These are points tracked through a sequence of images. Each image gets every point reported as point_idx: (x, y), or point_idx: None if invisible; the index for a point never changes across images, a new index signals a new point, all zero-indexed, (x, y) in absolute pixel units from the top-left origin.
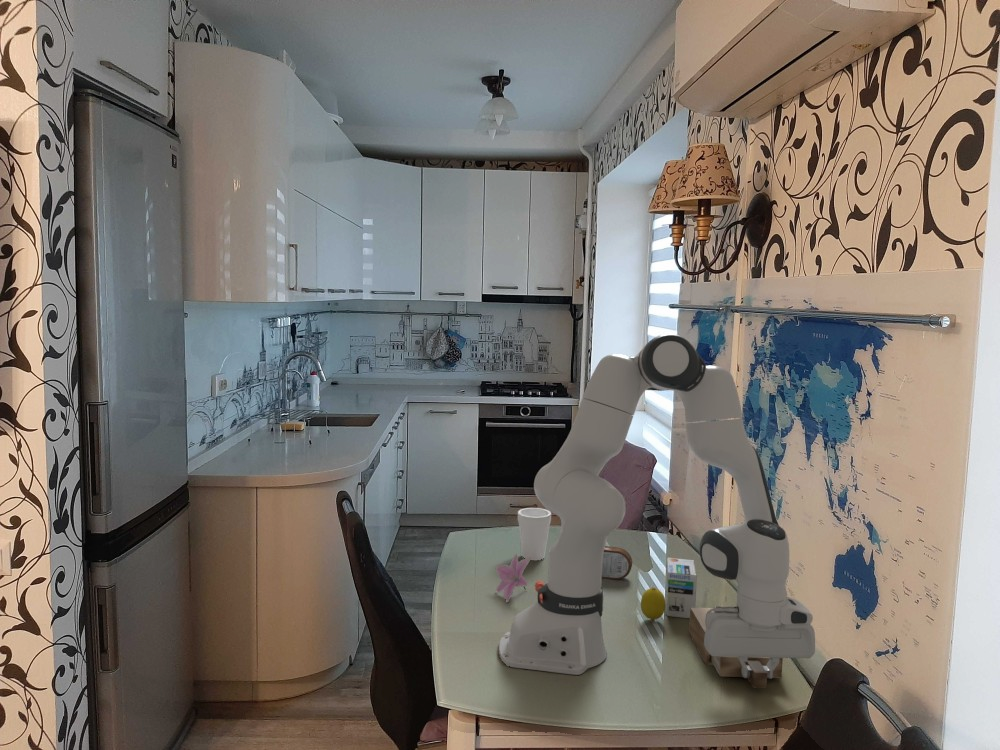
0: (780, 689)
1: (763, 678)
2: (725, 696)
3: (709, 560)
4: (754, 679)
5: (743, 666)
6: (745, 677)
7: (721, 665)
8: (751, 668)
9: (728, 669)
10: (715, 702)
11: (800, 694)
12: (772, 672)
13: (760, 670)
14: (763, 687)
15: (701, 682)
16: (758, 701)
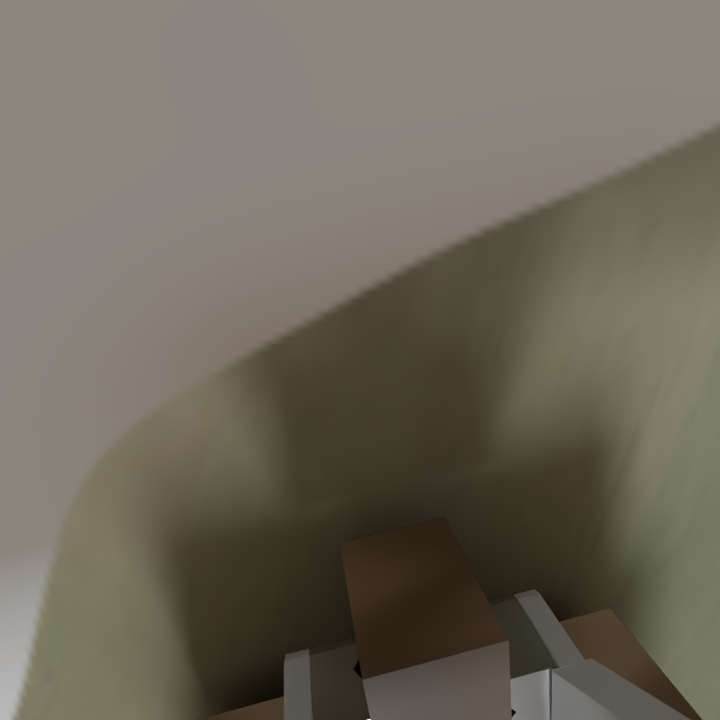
0: (209, 604)
1: (386, 608)
2: (616, 416)
3: None
4: (471, 574)
5: (636, 693)
6: (528, 592)
7: (668, 688)
8: (507, 705)
9: None
10: (710, 322)
11: (58, 586)
12: (285, 718)
13: (428, 699)
14: (364, 540)
15: (701, 534)
16: (403, 410)
